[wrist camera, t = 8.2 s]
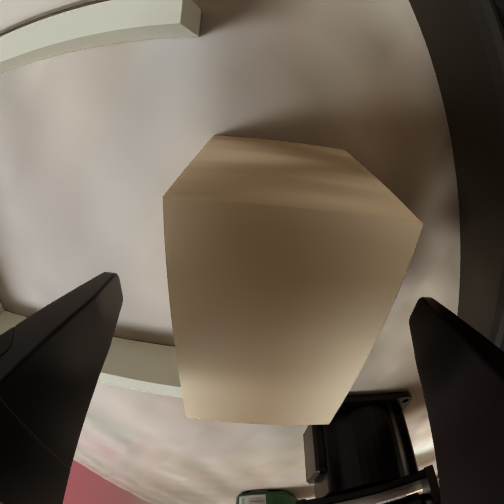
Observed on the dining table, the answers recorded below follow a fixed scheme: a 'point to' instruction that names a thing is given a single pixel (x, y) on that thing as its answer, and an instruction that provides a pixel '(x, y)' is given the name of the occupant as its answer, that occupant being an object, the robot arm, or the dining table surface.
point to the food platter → (474, 144)
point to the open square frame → (87, 36)
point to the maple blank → (279, 277)
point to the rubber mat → (30, 10)
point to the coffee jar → (266, 497)
